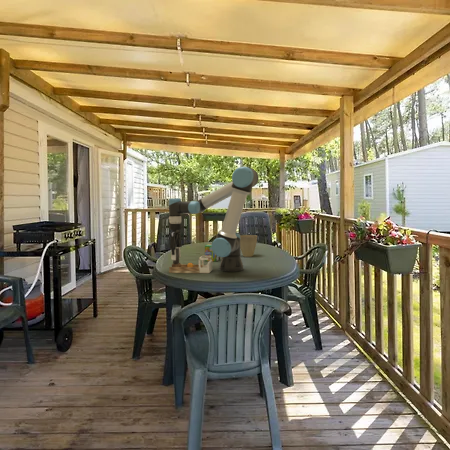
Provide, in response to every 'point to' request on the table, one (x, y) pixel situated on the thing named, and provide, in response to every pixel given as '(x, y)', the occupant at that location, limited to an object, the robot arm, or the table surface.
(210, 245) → the chalk box
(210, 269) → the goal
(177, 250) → the sled
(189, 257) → the table surface
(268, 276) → the table surface
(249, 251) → the plant pot
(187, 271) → the tray
